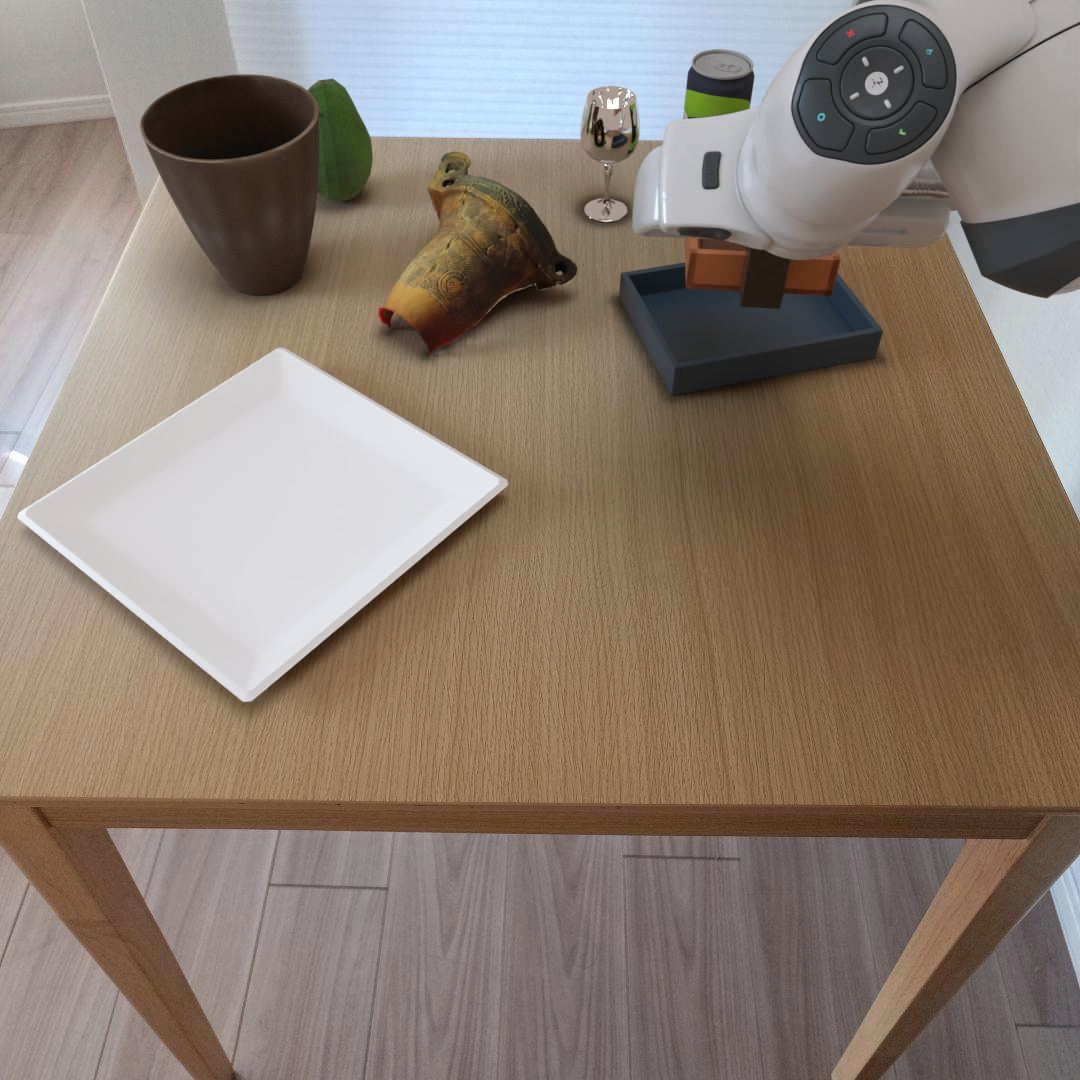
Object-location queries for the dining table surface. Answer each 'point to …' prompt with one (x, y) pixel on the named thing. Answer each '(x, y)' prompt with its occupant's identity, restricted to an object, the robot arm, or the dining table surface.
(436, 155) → the dining table surface
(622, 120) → the wineglass
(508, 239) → the pot
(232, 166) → the plant pot
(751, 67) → the beverage can
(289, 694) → the dining table surface
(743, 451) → the dining table surface
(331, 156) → the fruit
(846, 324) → the tray
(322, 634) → the plate
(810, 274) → the pan
